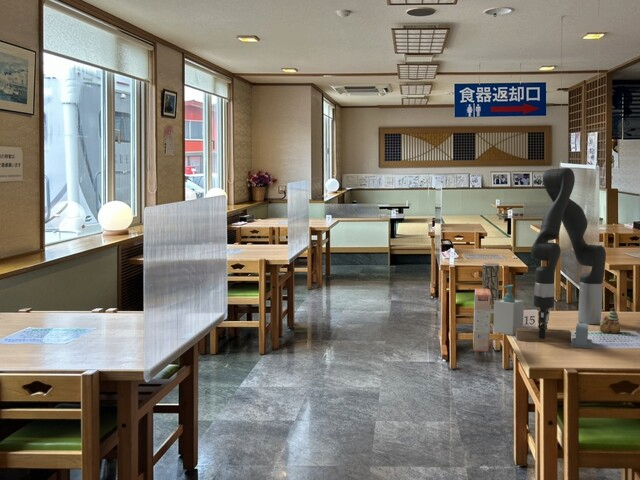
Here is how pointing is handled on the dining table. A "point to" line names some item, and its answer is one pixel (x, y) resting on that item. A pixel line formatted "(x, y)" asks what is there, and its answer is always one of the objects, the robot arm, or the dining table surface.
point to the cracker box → (482, 320)
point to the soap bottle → (508, 313)
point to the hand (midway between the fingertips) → (542, 336)
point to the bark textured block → (491, 283)
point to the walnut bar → (549, 335)
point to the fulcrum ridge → (581, 336)
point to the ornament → (610, 323)
